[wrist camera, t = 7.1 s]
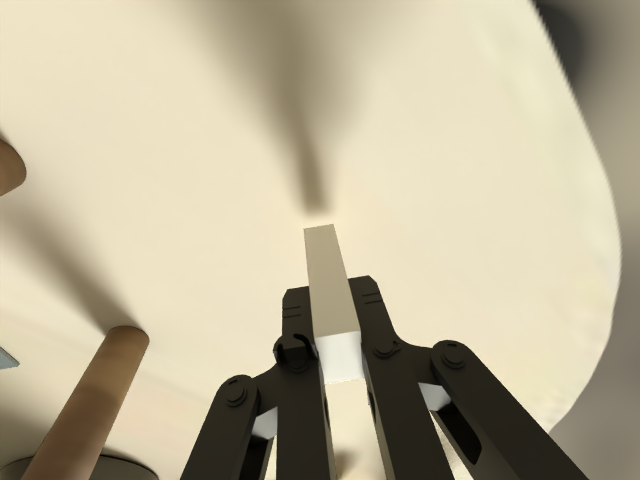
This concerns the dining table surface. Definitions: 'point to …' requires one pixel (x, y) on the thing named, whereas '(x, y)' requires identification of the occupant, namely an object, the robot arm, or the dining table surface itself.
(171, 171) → the dining table surface
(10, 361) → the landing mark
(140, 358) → the post
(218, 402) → the robot arm
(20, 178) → the post
